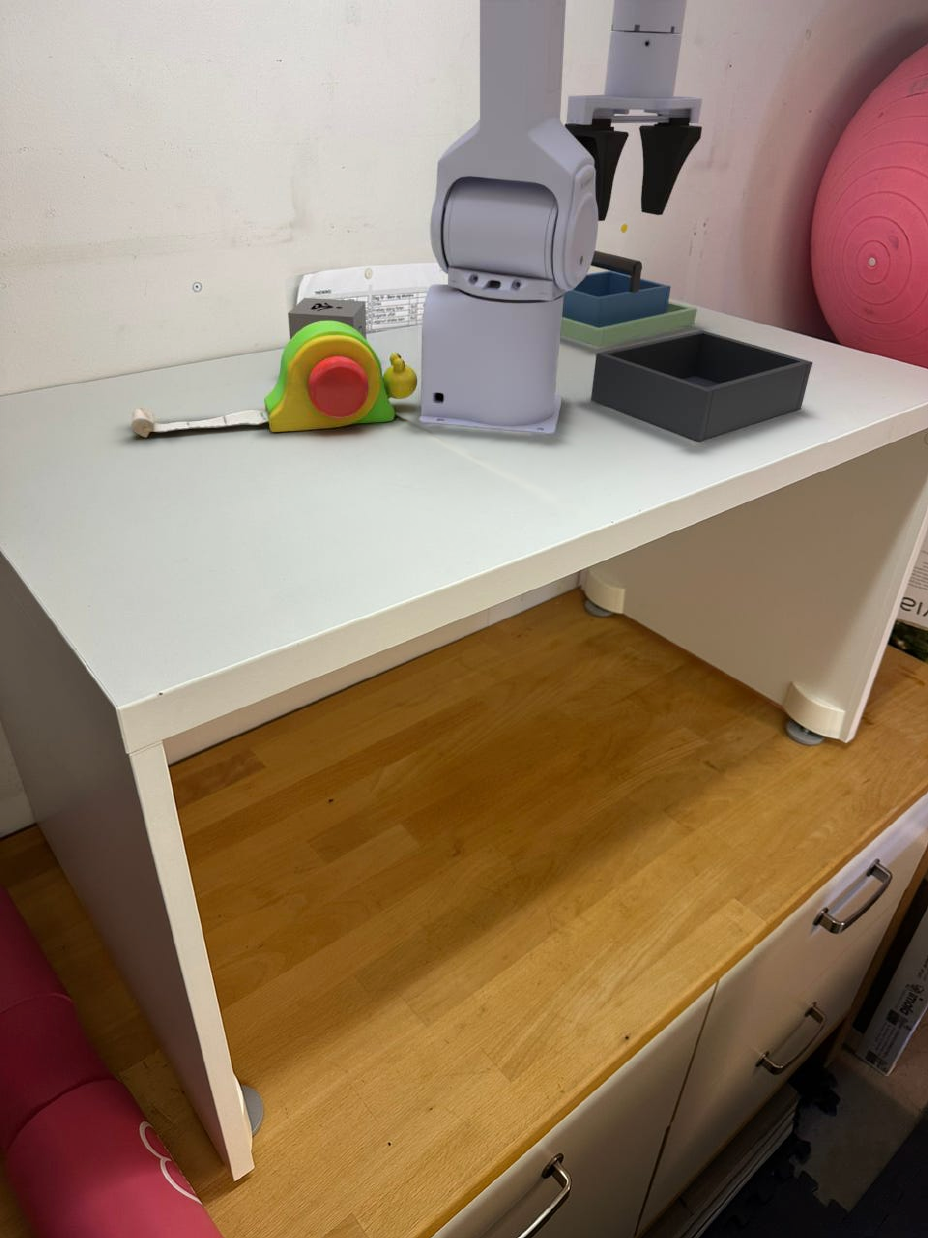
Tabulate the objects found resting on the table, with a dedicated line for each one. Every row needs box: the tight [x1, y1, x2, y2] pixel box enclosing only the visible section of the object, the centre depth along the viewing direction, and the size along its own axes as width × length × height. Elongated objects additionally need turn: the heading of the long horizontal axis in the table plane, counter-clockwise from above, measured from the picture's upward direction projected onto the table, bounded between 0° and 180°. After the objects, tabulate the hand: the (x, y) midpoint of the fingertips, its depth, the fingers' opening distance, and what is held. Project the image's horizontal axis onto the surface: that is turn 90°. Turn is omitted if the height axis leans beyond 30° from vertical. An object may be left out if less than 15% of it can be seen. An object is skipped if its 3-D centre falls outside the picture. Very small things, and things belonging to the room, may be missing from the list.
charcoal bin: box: [590, 329, 814, 443], centre depth 66 cm, size 12×10×4 cm
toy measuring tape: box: [131, 321, 418, 438], centre depth 60 cm, size 6×20×7 cm, turn 107°
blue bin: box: [562, 249, 672, 328], centre depth 85 cm, size 10×8×6 cm
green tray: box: [560, 301, 698, 347], centre depth 87 cm, size 14×12×2 cm
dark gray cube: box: [287, 297, 367, 340], centre depth 71 cm, size 5×5×5 cm
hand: (623, 216), depth 79 cm, fingers open, 7 cm apart
